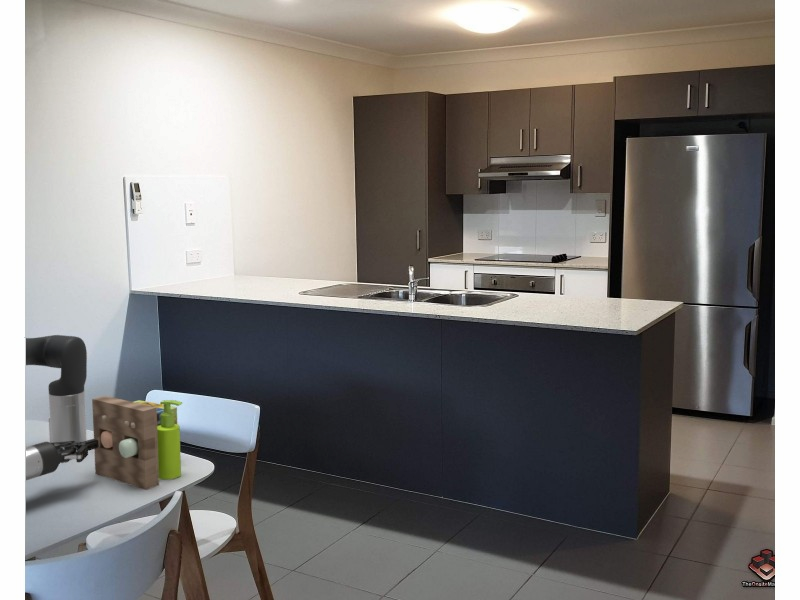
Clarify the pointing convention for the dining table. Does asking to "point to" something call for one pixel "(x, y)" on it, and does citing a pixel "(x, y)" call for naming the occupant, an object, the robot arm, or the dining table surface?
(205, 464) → the dining table surface
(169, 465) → the soap dispenser
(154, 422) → the button panel
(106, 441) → the button one
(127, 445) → the button two
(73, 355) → the robot arm
